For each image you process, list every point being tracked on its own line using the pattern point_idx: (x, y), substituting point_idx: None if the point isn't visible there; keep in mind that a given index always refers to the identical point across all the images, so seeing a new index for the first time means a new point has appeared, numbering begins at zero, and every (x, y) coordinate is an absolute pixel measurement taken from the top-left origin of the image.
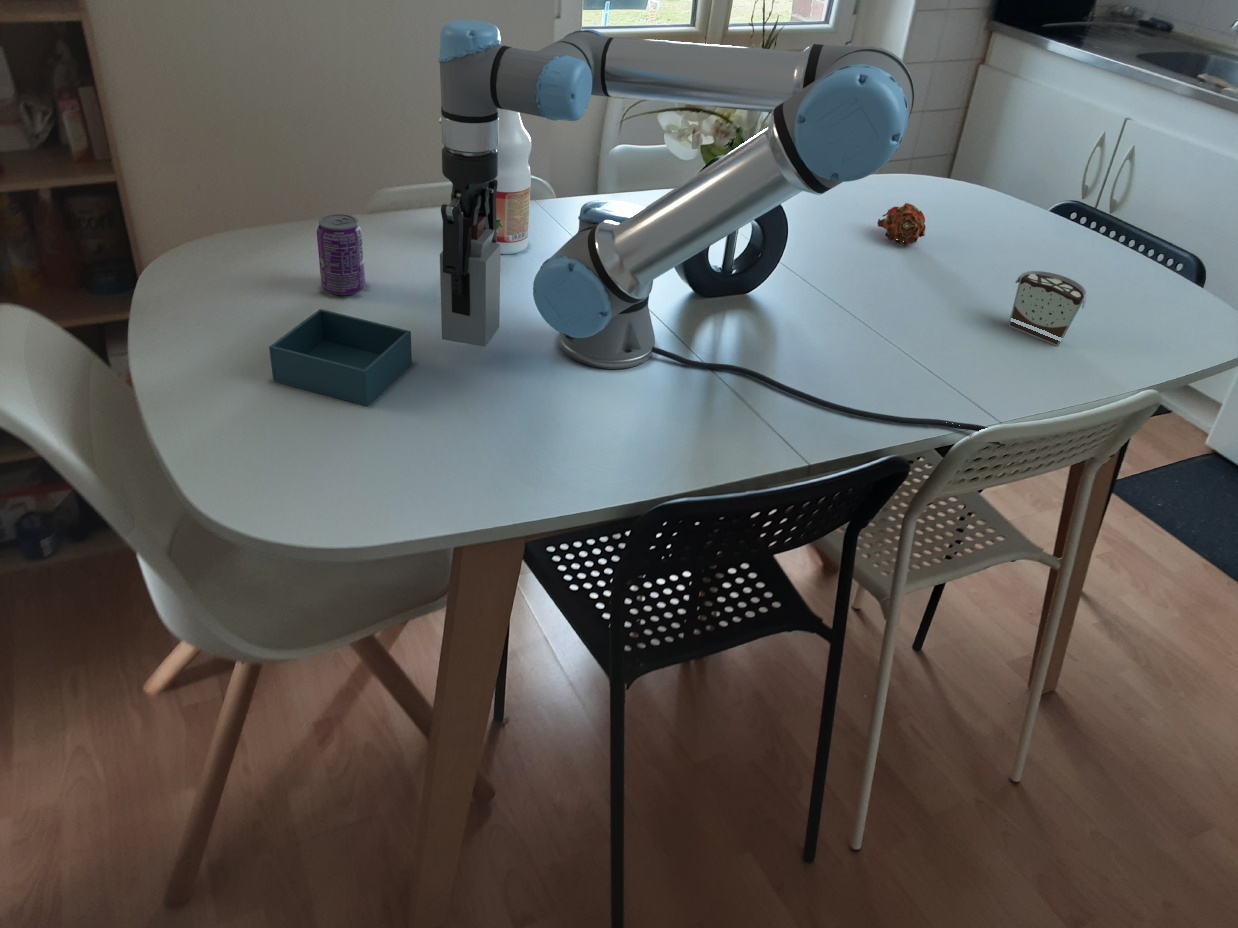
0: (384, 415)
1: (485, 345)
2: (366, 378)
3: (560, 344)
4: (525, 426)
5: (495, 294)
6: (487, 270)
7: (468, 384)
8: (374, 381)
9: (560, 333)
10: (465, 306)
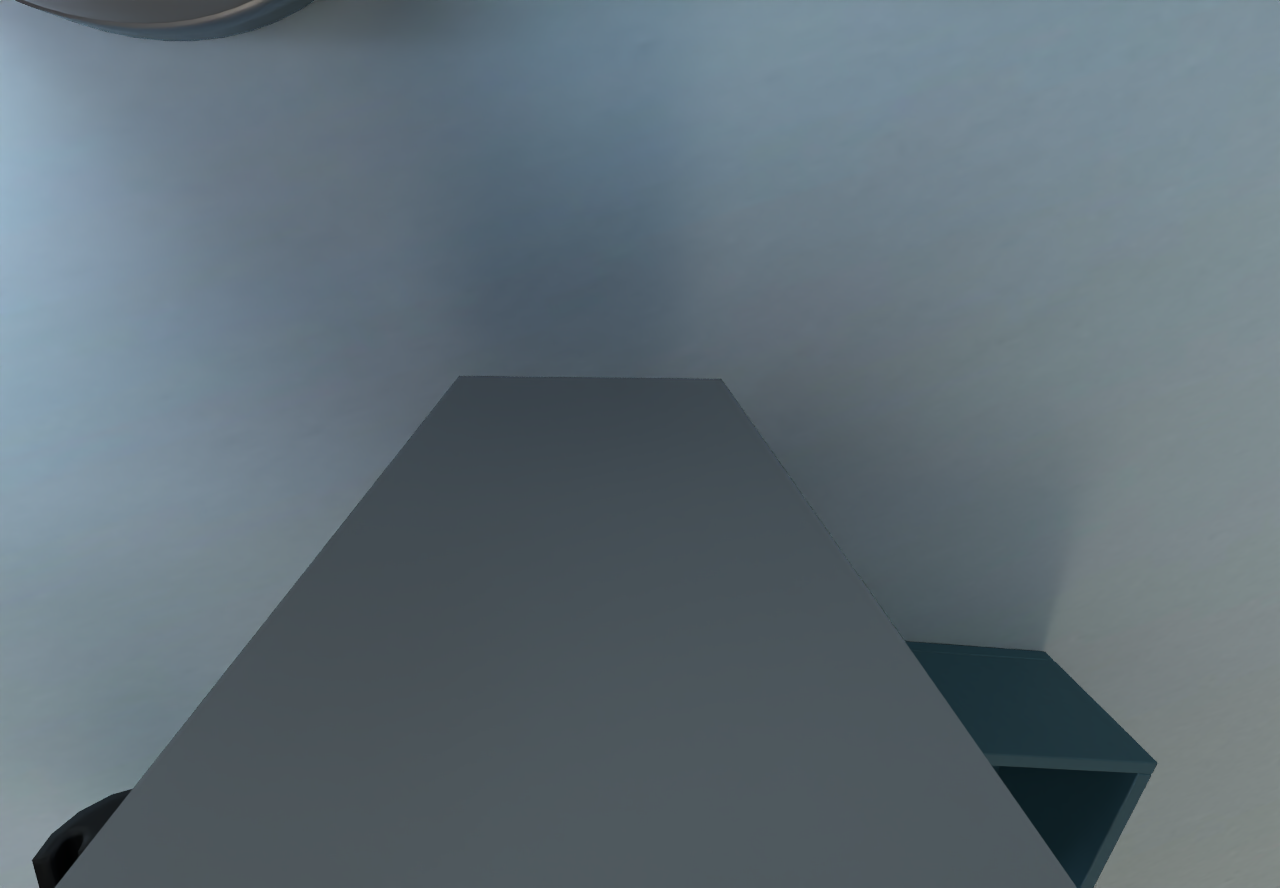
0: (1093, 586)
1: (722, 381)
2: (1128, 736)
3: (293, 4)
4: (1139, 10)
5: (514, 476)
6: (870, 723)
7: (823, 381)
8: (1042, 699)
9: (224, 2)
10: None
